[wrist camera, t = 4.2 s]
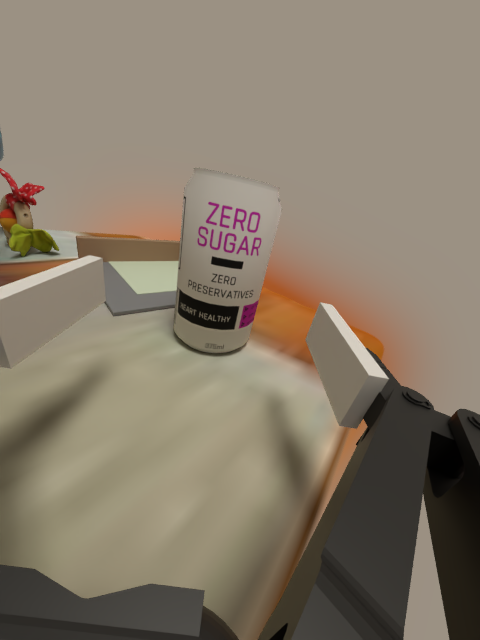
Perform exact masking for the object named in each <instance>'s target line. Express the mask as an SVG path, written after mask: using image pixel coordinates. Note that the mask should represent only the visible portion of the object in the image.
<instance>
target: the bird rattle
mask: <svg viewBox="0 0 480 640" xmlns="http://www.w3.org/2000/svg"><path fill="white" fill-rule="evenodd" d="M0 173H1V175H2V176H3V177H4V178H5V179H6V180H7V181H8V183H9V185H10V186H11V189H12V192H13V193H9V194H7V195H5V196H4V197H3V198H2V200H1V203H0V224H1V226H2V228H3V231H4V233H5V236H6V238H7V243H8V245H9V246H10V248H11V250H12V251H20V252H21V256H25V255H26V253H27V251H28V250H29V249H30V247H31V246H32V247H34V248H36V249H38V250H40V251H42V252H49V251H50V250H51V249H52V246H53V248H54V249H55V250H57V251H59V248H58V246H57V245H56V243H55V241H54V240H53V238H52V237H51V236H50V234H48V233H47V232H46V231H44V230H41V229H33V222H32V216H31V212H30V206H29V204H31V205H36V201H35V199H34V198H33V195H34V194H37V193H39V192H40V191H42V190H44V187H43V186H37V185H33V184H31V183H26V184H25V185H23V186H22V187H21V188H20V189H18V187H17V184H16V183H15V181H14V180H13V179H12V177H11V176H10V175H9V174H8V173H7V172H5V171H4V170H2V169H1V168H0ZM27 202H28V203H29V204H28V203H27Z"/></svg>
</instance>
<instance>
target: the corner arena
mask: <svg viewBox="0 0 480 640" xmlns="http://www.w3.org/2000/svg"><path fill="white" fill-rule="evenodd" d="M76 241H77V249H78V257H79V259H80V258H83V257H86V256H88V255H91V256H95V257H100V258H103V270H104V283H105V297H106V301H105V304H106V305H107V307H108V308H109V310H110V311H111V313H112V315H113V316H117V315H124V314H131V313H138V312H145V311H152V310H159V309H166V308H173V307H175V303H176V290H177V277H178V264H179V251H180V241H168V240H148V239H129V238H110V237H90V236H76Z"/></svg>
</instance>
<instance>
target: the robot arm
mask: <svg viewBox="0 0 480 640" xmlns="http://www.w3.org/2000/svg"><path fill="white" fill-rule="evenodd" d="M2 159H3V144H2V136H1V132H0V161H1V160H2ZM105 301H106V297H105V283H104V270H103V258H100V257H95V256H91V255H88V256H86V257H83V258H80V259H77V260H74V261H72V262H69V263H66V264H63V265H60V266H57V267H55V268H52V269H49V270H46V271H43V272H41V273H38V274H35V275H32V276H29V277H27V278H24V279H21V280H18V281H15V282H12V283H10V284H7V285H4V286H1V287H0V367H4V368H10V369H11V368H13V367H14V366H15V365H17V364H18V363H20V362H21V361H22V360H24V359H25V358H27V357H28V356H29V355H31V354H32V353H34V352H35V351H36V350H38V349H39V348H41V347H42V346H43V345H45V344H46V343H48V342H49V341H50V340H52V339H53V338H55V337H56V336H57V335H59V334H60V333H62V332H63V331H64V330H66V329H67V328H69V327H70V326H71V325H73V324H74V323H76V322H77V321H78V320H80V319H81V318H83V317H84V316H85V315H87V314H88V313H90V312H91V311H92V310H94V309H95V308H97V307H98V306H99V305H101V304H102V303H104V302H105ZM306 342H307V345H308V347H309V350H310V352H311V355H312V358H313V360H314V363H315V365H316V368H317V370H318V373H319V375H320V378H321V381H322V383H323V386H324V388H325V391H326V393H327V396H328V398H329V401H330V404H331V406H332V409H333V411H334V414H335V416H336V419H337V421H338V424H339V426H344V427H350V428H357V427H358V426H359V424H360V423H361V421H362V420H363V419H364V420H365V422H366V424H367V426H368V427H367V429H366V430H365V432H364V433H363V435H362V436H361V437H360V439H359V440H358V442H357V443H356V445H357V447H356V449H355V451H354V454H353V456H352V457H351V459H350V461H349V463H348V465H347V467H346V469H345V472H344V473H343V475H342V477H341V479H340V482H339V484H338V485H337V487H336V490H335V492H334V493H333V496H332V498H331V499H330V501H329V504H328V505H327V507H326V509H325V512H324V513H323V515H322V517H321V519H320V522H319V524H318V526H317V528H316V530H315V532H314V534H313V536H312V538H311V540H310V542H309V544H308V546H307V548H306V550H305V552H304V554H303V556H302V558H301V560H300V562H299V564H298V566H297V568H296V570H295V572H294V574H293V576H292V578H291V580H290V582H289V584H288V586H287V588H286V590H285V592H284V594H283V596H282V598H281V600H280V601H279V603H278V605H277V607H276V608H275V610H274V612H273V613H272V615H271V617H270V618H269V620H268V622H267V623H266V625H265V627H264V629H263V631H262V632H261V634H260V636H259V638H258V640H403V636H404V625H405V618H406V610H407V602H408V596H409V589H410V582H411V575H412V567H413V560H414V553H415V546H416V539H417V531H418V524H419V516H420V510H421V503H422V495H423V494H424V501H425V506H426V511H427V517H428V523H429V528H430V534H431V539H432V545H433V550H434V556H435V561H436V567H437V572H438V578H439V584H440V589H441V595H442V600H443V606H444V611H445V617H446V622H447V628H448V633H449V639H450V640H480V415H479V414H477V413H475V412H472V411H469V410H466V409H459V410H457V411H456V412H455V414H454V415H453V416H452V417H450V416H447V415H445V414H442V413H440V412H437V411H435V410H434V408H433V405H432V404H431V403H430V402H429V400H427V399H426V398H425V397H424V396H423V395H421V394H420V393H418V392H416V391H414V390H412V389H410V388H408V387H404V386H401V385H400V384H399V383H398V381H397V380H396V379H395V378H394V377H393V375H392V374H391V373H390V371H389V370H388V369H386V367H385V365H384V364H383V363H382V362H381V360H380V359H379V358H378V357H377V355H376V354H374V353H373V352H372V351H370V350H369V349H368V348H365V347H364V346H363V344H362V343H361V342H360V340H359V339H358V338H357V337H356V335H355V334H354V333H353V331H352V330H351V329H350V327H349V326H348V325H347V324H346V322H345V321H344V320H343V318H342V317H341V316H340V314H339V313H338V312H337V311H336V309H335V308H334V307H333V305H330V304H325V303H321V302H320V304H319V307H318V309H317V312H316V314H315V317H314V319H313V322H312V324H311V327H310V330H309V332H308V335H307V337H306ZM204 591H205V590H197V589H189V588H181V587H173V586H165V585H157V584H148V585H144V586H140V587H135V588H131V589H127V590H123V591H119V592H115V593H110V594H106V595H102V596H98V597H94V598H89V599H85V598H81V597H79V596H77V595H76V594H74V593H72V592H71V591H69V590H67V589H66V588H64V587H63V586H61V585H59V584H58V583H56V582H55V581H53V580H51V579H50V578H48V577H47V576H45V575H43V574H42V573H40V572H39V571H37V570H35V569H30V568H22V567H14V566H6V565H0V640H239V639H238V638H237V636H236V635H235V634H234V632H233V631H232V630H231V629H230V628H229V627H228V625H227V624H226V623H225V622H224V621H223V620H222V619H221V618H219V617H218V616H217V615H216V614H215V613H214V612H212V611H211V610H209V609H207V608H206V607H204V606H203V599H204Z"/></svg>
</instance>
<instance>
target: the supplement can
mask: <svg viewBox="0 0 480 640" xmlns="http://www.w3.org/2000/svg"><path fill="white" fill-rule="evenodd" d="M278 192H279V187H276V186H274V185H270V184H267V183H264V182H260V181H257V180H253V179H249V178H245V177H241V176H236V175H233V174H228V173H223V172H219V171H214V170H208V169H202V168H194V174H193V175H192V177H191V179H190V180H189V182H188V183H187V185H186V187H185V188H184V201H183V213H182V226H181V238H180V239H181V240H180V251H179V264H178V277H177V290H176V303H175V316H174V331H175V333H176V334H177V336H178V337H179V338H180V339H182V340H183V342H184V343H186V344H187V345H189V346H190V347H192V348H194V349H197V350H200V351H202V352H208V353H227V352H230V351H233V350H235V349H237V348H239V347H242V346H243V345H244V344H245V343H246V342H247V341H248V339H249V336H250V332H251V328H252V324H253V320H254V316H255V312H256V308H257V305H258V301H259V297H260V293H261V289H262V285H263V281H264V277H265V273H266V270H267V266H268V262H269V258H270V254H271V250H272V246H273V242H274V238H275V235H276V230H277V227H278V223H279V219H280V215H281V211H282V209H281V204H280V199H279V193H278Z"/></svg>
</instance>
